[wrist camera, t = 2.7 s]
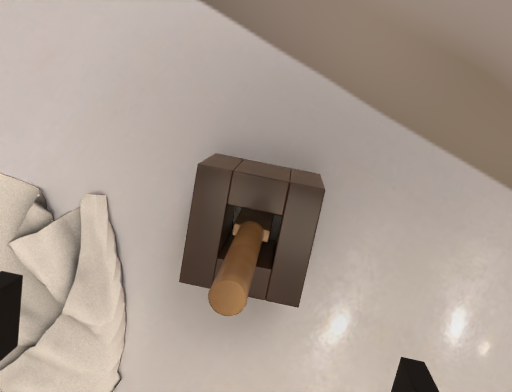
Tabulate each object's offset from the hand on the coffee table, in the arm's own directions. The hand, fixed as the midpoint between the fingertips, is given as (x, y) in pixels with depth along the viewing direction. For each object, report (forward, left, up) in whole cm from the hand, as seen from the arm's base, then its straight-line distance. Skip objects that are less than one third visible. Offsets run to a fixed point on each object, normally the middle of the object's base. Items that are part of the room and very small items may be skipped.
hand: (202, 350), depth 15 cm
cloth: (+17, +10, -19) cm, 28 cm away
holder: (0, 0, -19) cm, 19 cm away
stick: (0, 0, -19) cm, 19 cm away
